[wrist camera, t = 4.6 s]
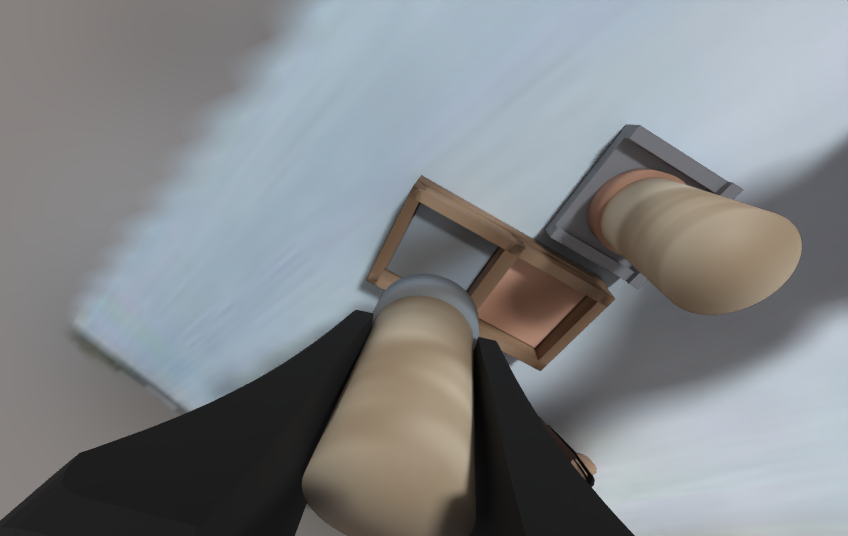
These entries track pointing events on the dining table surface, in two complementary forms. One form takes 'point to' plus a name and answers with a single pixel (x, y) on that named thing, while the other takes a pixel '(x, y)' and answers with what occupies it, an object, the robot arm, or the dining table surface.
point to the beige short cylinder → (694, 241)
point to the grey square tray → (622, 155)
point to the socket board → (493, 273)
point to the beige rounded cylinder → (404, 420)
